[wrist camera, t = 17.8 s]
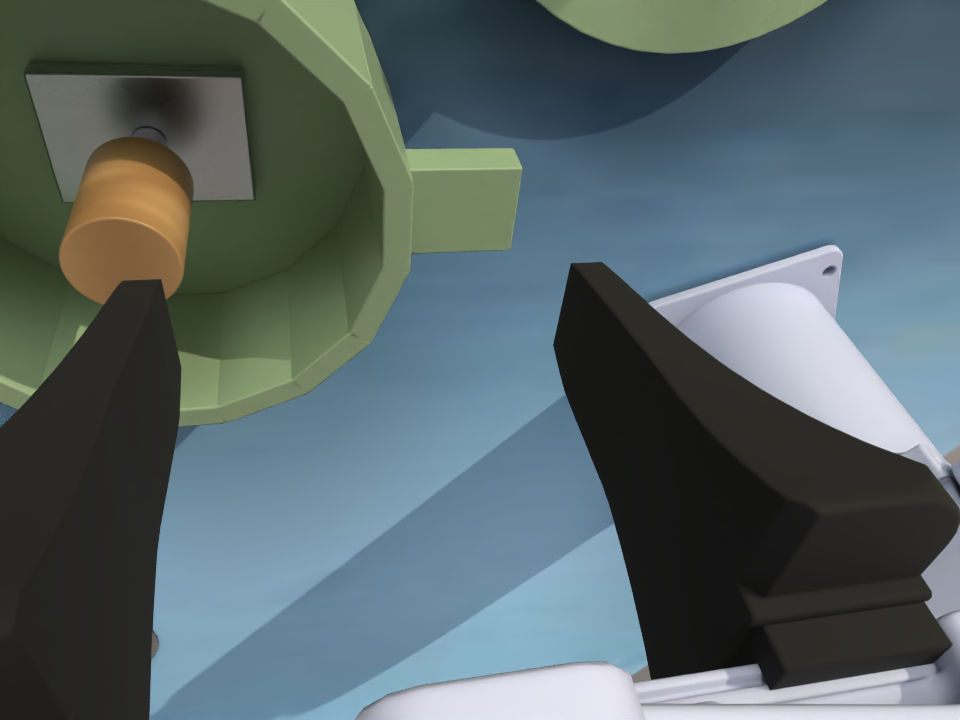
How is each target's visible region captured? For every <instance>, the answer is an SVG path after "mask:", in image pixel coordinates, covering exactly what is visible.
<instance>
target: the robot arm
mask: <svg viewBox="0 0 960 720" xmlns="http://www.w3.org/2000/svg"><path fill="white" fill-rule="evenodd" d="M842 259H843V254H842V252H841V251H840V250H839V249H838V247H837V246H835V245H827V246H824V247H821V248H818V249H815V250H811V251H808V252H805V253H802V254H799V255H796V256H793V257H789V258H786V259H783V260H780V261H777V262H774V263H771V264H767V265H764V266H761V267H758V268H755V269H752V270H749V271H745V272H742V273H739V274H736V275H733V276H730V277H727V278H723V279H720V280H717V281H714V282H711V283H708V284H705V285H701V286H698V287H695V288H692V289H689V290H686V291H683V292H680V293H676V294H673V295H670V296H667V297H664V298H661V299H658V300H654V301H651V302H648V303H647V302H646V301H645V300H644V299H643V298H642V297H641V296H640V295H639V294H637V293H636V292H635V291H634V290H633V289H632V288H631V287H630V286H629V285H628V284H626V283H625V282H624V281H623V280H622V279H621V278H620V277H619V276H618V275H616V274H615V273H614V272H613V271H612V270H611V269H610V268H608V267H607V266H606V265H605V264H604V263H602V262H594V263H571V266H570V270H569V275H568V279H567V284H566V289H565V293H564V298H563V303H562V307H561V312H560V316H559V321H558V326H557V330H556V335H555V339H554V344H553V346H554V350H555V355H556V359H557V363H558V367H559V372H560V375H561V379H562V383H563V387H564V391H565V393H566V396H567V398H568V401H569V404H570V406H571V409H572V411H573V414H574V416H575V419H576V421H577V424H578V426H579V429H580V431H581V434H582V436H583V439H584V441H585V443H586V446H587V448H588V451H589V453H590V456H591V458H592V461H593V463H594V466H595V468H596V471H597V473H598V475H599V478H600V480H601V483H602V485H603V488H604V491H605V494H606V497H607V500H608V503H609V506H610V509H611V513H612V516H613V520H614V523H615V527H616V531H617V534H618V538H619V541H620V545H621V549H622V553H623V557H624V560H625V564H626V568H627V572H628V576H629V580H630V584H631V588H632V592H633V597H634V601H635V605H636V610H637V614H638V619H639V623H640V628H641V632H642V637H643V641H644V646H645V651H646V656H647V661H648V666H649V671H650V677H651V680H649V681H643V682H637V683H633V681H632V678H631V675H630V673H629V672H627V671H625V670H623V669H621V668H619V667H616V666H614V665H612V664H609V663H607V662H574V663H567V664H560V665H553V666H547V667H540V668H533V669H527V670H520V671H513V672H506V673H500V674H493V675H486V676H480V677H473V678H466V679H459V680H453V681H446V682H439V683H433V684H426V685H420V686H417V687H413V688H409V689H405V690H401V691H398V692H394V693H390V694H388V695H386V696H384V697H382V698H381V699H379V700H377V701H375V702H374V703H372V704H370V705H368V706H367V707H365V708H364V709H363V710H362V711H361V712H360V713H359V714H358V716H357V718H356V719H355V720H960V461H958V462H956V463H955V464H953V465H951V464H950V463H949V462H947V461H946V460H945V459H944V458H943V457H942V455H941V454H940V453H939V452H938V450H937V449H936V448H935V447H934V445H933V444H932V443H931V441H930V440H929V439H928V438H927V436H926V435H925V434H924V433H923V431H922V430H921V429H920V428H919V426H918V425H917V424H916V423H915V421H914V420H913V419H912V417H911V416H910V415H909V414H908V412H907V411H906V410H905V409H904V407H903V406H902V405H901V404H900V402H899V401H898V400H897V399H896V397H895V396H894V395H893V393H892V392H891V391H890V390H889V388H888V387H887V386H886V385H885V383H884V382H883V381H882V380H881V378H880V377H879V376H878V375H877V373H876V372H875V371H874V369H873V368H872V367H871V366H870V364H869V363H868V362H867V361H866V359H865V358H864V357H863V356H862V354H861V353H860V352H859V351H858V349H857V348H856V347H855V345H854V344H853V343H852V342H851V340H850V339H849V338H848V337H847V335H846V334H845V333H844V332H843V330H842V329H841V328H840V327H839V325H838V324H837V323H836V321H835V314H836V306H837V299H838V291H839V283H840V275H841V267H842ZM827 267H828V268H827ZM826 268H827V269H826ZM181 369H182V367H181V363H180V359H179V354H178V350H177V346H176V341H175V337H174V332H173V328H172V324H171V319H170V315H169V311H168V306H167V302H166V298H165V293H164V289H163V284H162V280H161V279H151V280H125V281H122V282H121V283H120V284H119V285H118V286H117V287H116V288H115V290H114V291H113V292H112V294H111V295H110V297H109V298H108V300H107V301H106V303H105V304H104V305H103V307H102V308H101V310H100V311H99V312H98V314H97V315H96V317H95V318H94V319H93V321H92V322H91V324H90V325H89V326H88V328H87V329H86V330H85V332H84V333H83V334H82V336H81V337H80V338H79V339H78V341H77V342H76V343H75V345H74V346H73V347H72V348H71V350H70V351H69V352H68V353H67V355H66V356H65V357H64V358H63V360H62V361H61V362H60V364H59V365H58V366H57V367H56V368H55V370H54V371H53V372H52V373H51V374H50V375H49V376H48V378H47V379H46V380H45V381H44V382H43V383H42V384H41V385H40V386H39V388H38V389H37V390H36V391H35V392H34V393H33V394H32V395H31V397H30V398H29V399H28V400H27V401H26V402H25V403H24V404H23V405H22V406H21V407H20V408H19V409H18V410H17V412H16V413H15V414H14V415H13V416H12V417H11V418H10V419H9V420H8V421H7V422H6V423H5V424H4V425H3V426H2V427H0V720H149V711H150V680H151V651H152V631H153V610H154V593H155V577H156V561H157V549H158V541H159V534H160V526H161V521H162V515H163V510H164V504H165V499H166V493H167V488H168V482H169V476H170V471H171V465H172V460H173V454H174V448H175V443H176V437H177V431H178V425H179V419H180V399H181Z"/></svg>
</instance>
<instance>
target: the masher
mask: <svg viewBox="0 0 960 720" xmlns="http://www.w3.org/2000/svg"><path fill="white" fill-rule="evenodd" d="M23 75H24V79H25V82H26V85H27V88H28V92H29V95H30V98H31V102H32V105H33V108H34V112H35V115H36V118H37V121H38V125H39V128H40V131H41V135H42V138H43V141H44V145H45V148H46V151H47V154H48V158H49V161H50V164H51V168H52V171H53V174H54V178H55V181H56V184H57V187H58V191H59V194H60V197H61V200H62V202H63V203H74V204H73V208H72V211H71V214H70V217H69V220H68V223H67V226H66V230H65V233H64V236H63V239H62V242H61V245H60V248H59V262H60V266H61V269H62V271H63V274H64V275H65V277H66V279H67V280H68V281H69V283H70V284H71V285H72V286H73V287H74V288H75V289H76V290H77V291H78V292H80V293H81V294H82V295H84V296H85V297H87V298H88V299H90V300H92V301H94V302H96V303H99V304H102V305H104V304H105V303H106V301H107V300H108V298H109V297H110V295H111V294H112V292H113V291H114V290H115V288H116V287H117V286H118V285H119V284H120V283H121V282H122V281H125V280H151V279H161V280H162V284H163V289H164V293H165V298H166V300H167V299H168V298H169V297H170V296H172V295H173V294H174V293H175V291H176V290H177V289H178V287H179V286H180V284H181V282H182V279H183V275H184V267H185V259H186V250H187V242H188V234H189V226H190V218H191V209H192V202H194V201H253V200H255V199H256V181H255V171H254V162H253V152H252V142H251V133H250V123H249V114H248V104H247V95H246V85H245V76H244V69H243V67H241V66H211V65H163V64H115V63H67V62H29V63H28V65H27V67H26V69H25V71H24V73H23Z"/></svg>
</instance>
